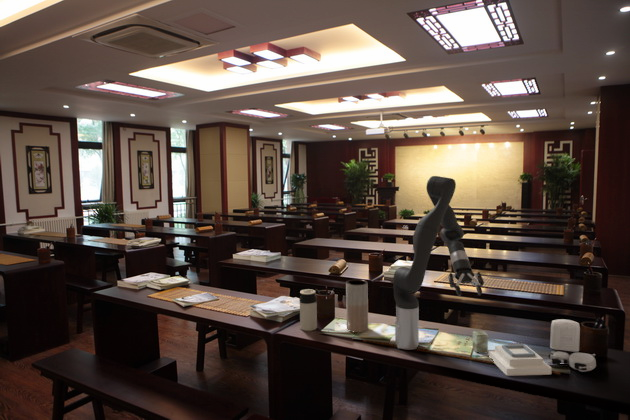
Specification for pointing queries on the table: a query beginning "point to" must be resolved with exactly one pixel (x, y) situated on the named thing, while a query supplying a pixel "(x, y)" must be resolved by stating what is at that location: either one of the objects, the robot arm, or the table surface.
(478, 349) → the block
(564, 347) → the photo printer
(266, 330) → the table surface
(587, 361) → the robot toy
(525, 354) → the plinth
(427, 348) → the table surface
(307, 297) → the travel mug
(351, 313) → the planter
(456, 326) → the table surface
